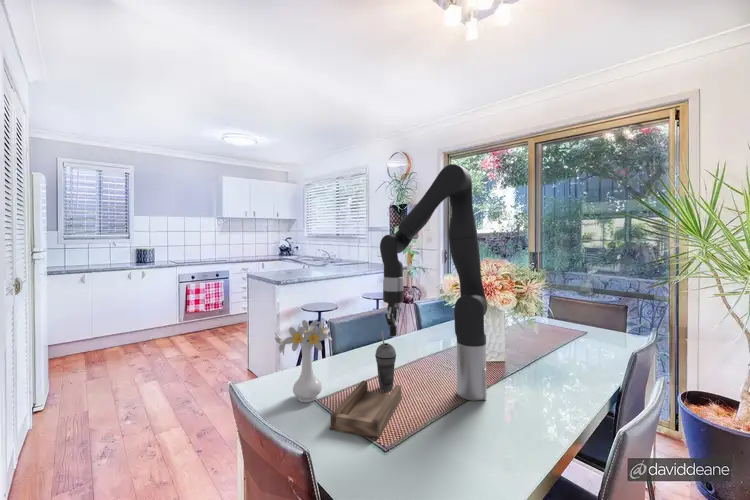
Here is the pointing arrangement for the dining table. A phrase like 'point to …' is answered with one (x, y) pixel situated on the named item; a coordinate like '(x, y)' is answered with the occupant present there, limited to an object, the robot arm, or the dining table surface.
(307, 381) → the flower vase
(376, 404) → the u rest
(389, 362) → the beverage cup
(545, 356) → the dining table surface
